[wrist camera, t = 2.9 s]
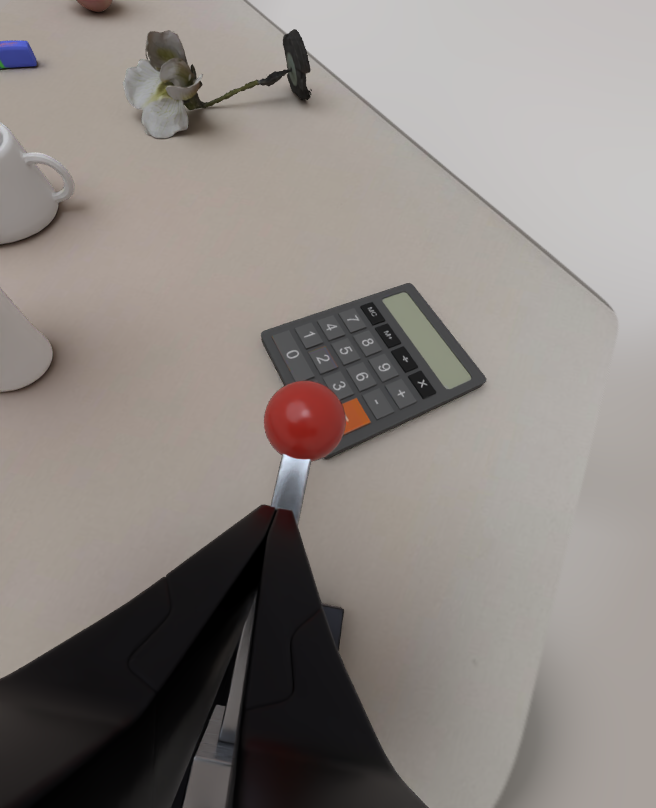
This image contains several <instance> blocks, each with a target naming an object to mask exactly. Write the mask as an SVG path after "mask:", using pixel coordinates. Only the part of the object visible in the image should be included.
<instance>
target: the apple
mask: <svg viewBox="0 0 656 808" xmlns="http://www.w3.org/2000/svg"><path fill="white" fill-rule="evenodd" d="M77 1H78V2H79V3H80V4H81V5H82V6H83V7H85V8H87V9H89V10H91V11H95V12H101V11H103V10H105V9H107V8H108V7H109V6H110V5H111V3H112V0H77Z"/></svg>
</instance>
